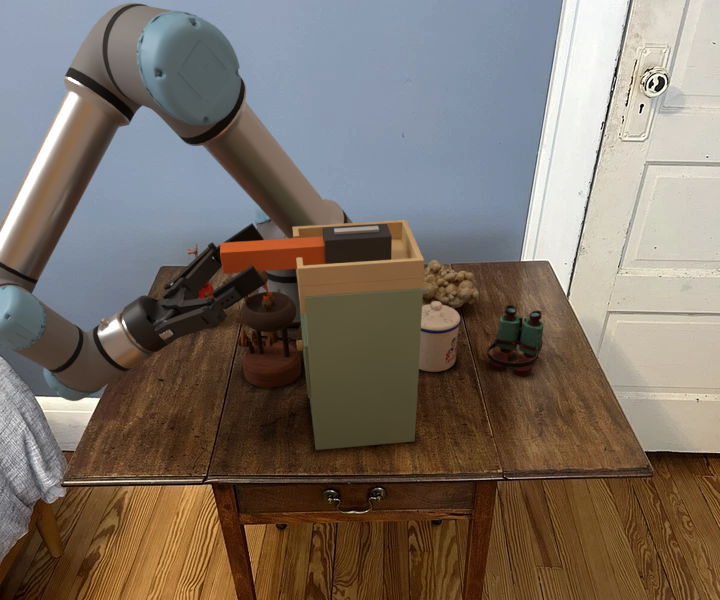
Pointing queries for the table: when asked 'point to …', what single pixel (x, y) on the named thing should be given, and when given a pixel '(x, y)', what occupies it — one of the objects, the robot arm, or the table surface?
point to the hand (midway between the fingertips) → (258, 251)
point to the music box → (268, 338)
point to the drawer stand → (362, 342)
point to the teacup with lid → (438, 337)
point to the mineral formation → (447, 286)
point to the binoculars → (517, 341)
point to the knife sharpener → (310, 249)
